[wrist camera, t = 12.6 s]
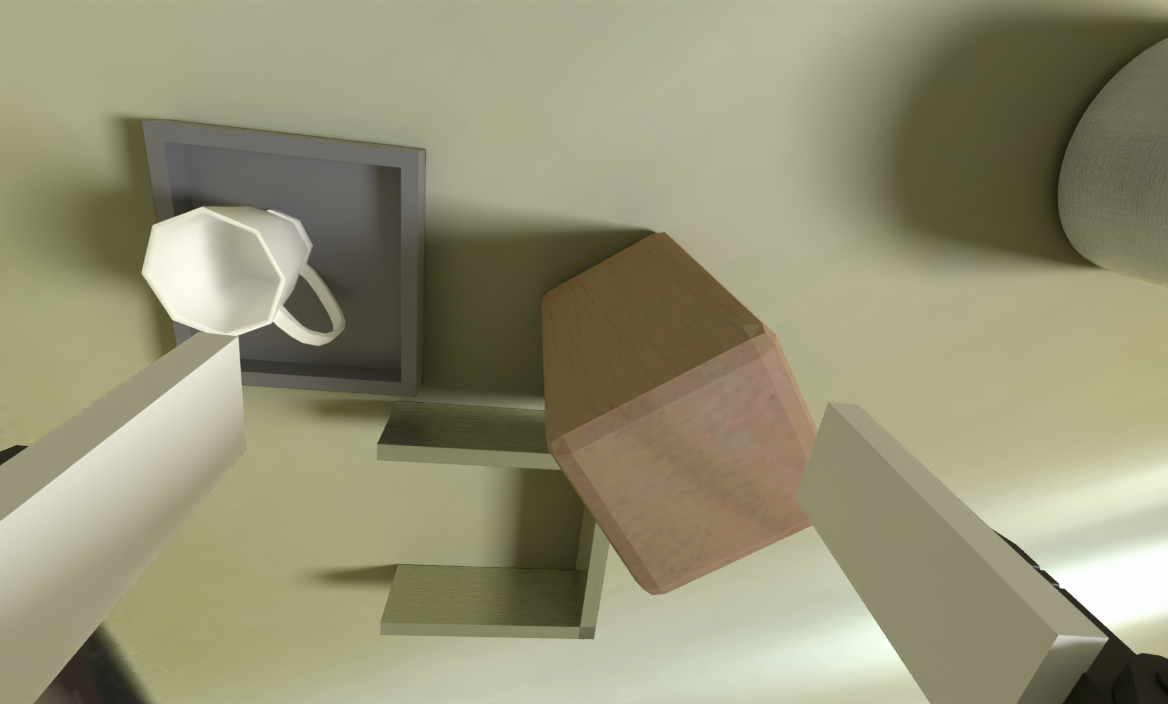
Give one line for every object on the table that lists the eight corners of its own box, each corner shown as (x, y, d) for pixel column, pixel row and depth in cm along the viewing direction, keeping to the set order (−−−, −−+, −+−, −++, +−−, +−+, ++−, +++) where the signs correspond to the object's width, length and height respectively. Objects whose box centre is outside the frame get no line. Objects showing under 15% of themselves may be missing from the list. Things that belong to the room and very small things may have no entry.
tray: (168, 119, 35) (141, 120, 33) (425, 149, 37) (418, 152, 34) (202, 365, 41) (181, 381, 38) (422, 380, 43) (416, 396, 40)
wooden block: (601, 404, 45) (649, 612, 26) (535, 294, 41) (536, 445, 22) (720, 342, 43) (859, 515, 25) (663, 223, 40) (776, 322, 21)
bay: (397, 401, 43) (377, 444, 38) (612, 415, 45) (623, 458, 39) (397, 575, 49) (380, 634, 44) (587, 581, 51) (593, 639, 45)
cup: (266, 162, 36) (196, 176, 28) (392, 280, 39) (358, 320, 32) (194, 239, 37) (109, 272, 30) (322, 347, 40) (274, 400, 33)
